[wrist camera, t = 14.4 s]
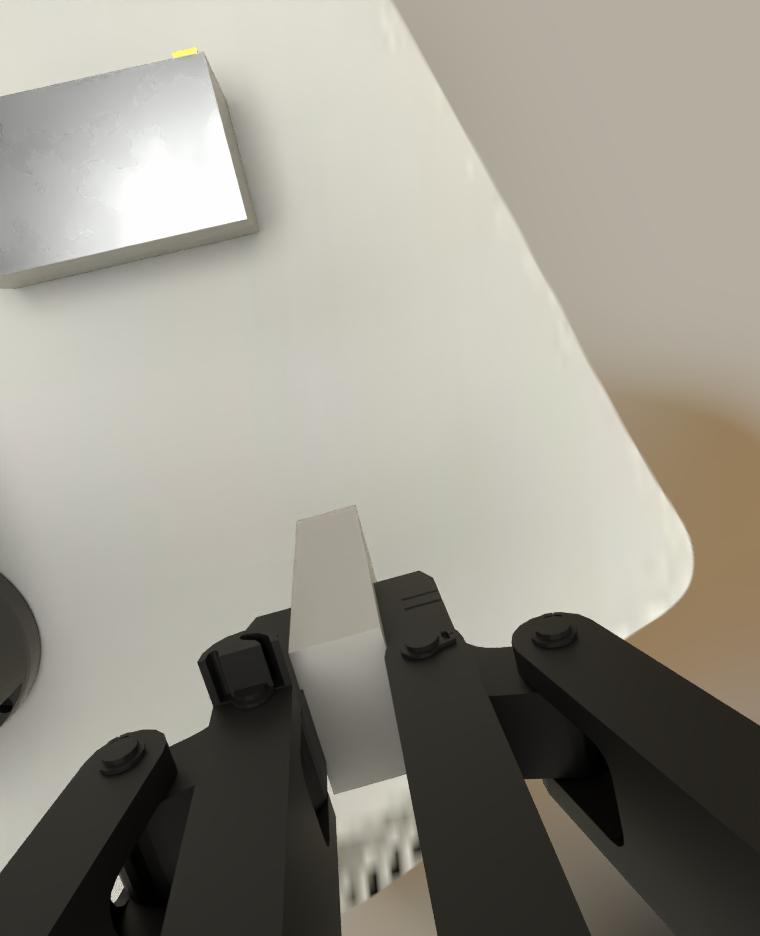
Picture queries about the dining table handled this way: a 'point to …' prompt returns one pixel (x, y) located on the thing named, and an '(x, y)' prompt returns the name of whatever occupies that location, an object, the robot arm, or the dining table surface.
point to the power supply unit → (118, 170)
